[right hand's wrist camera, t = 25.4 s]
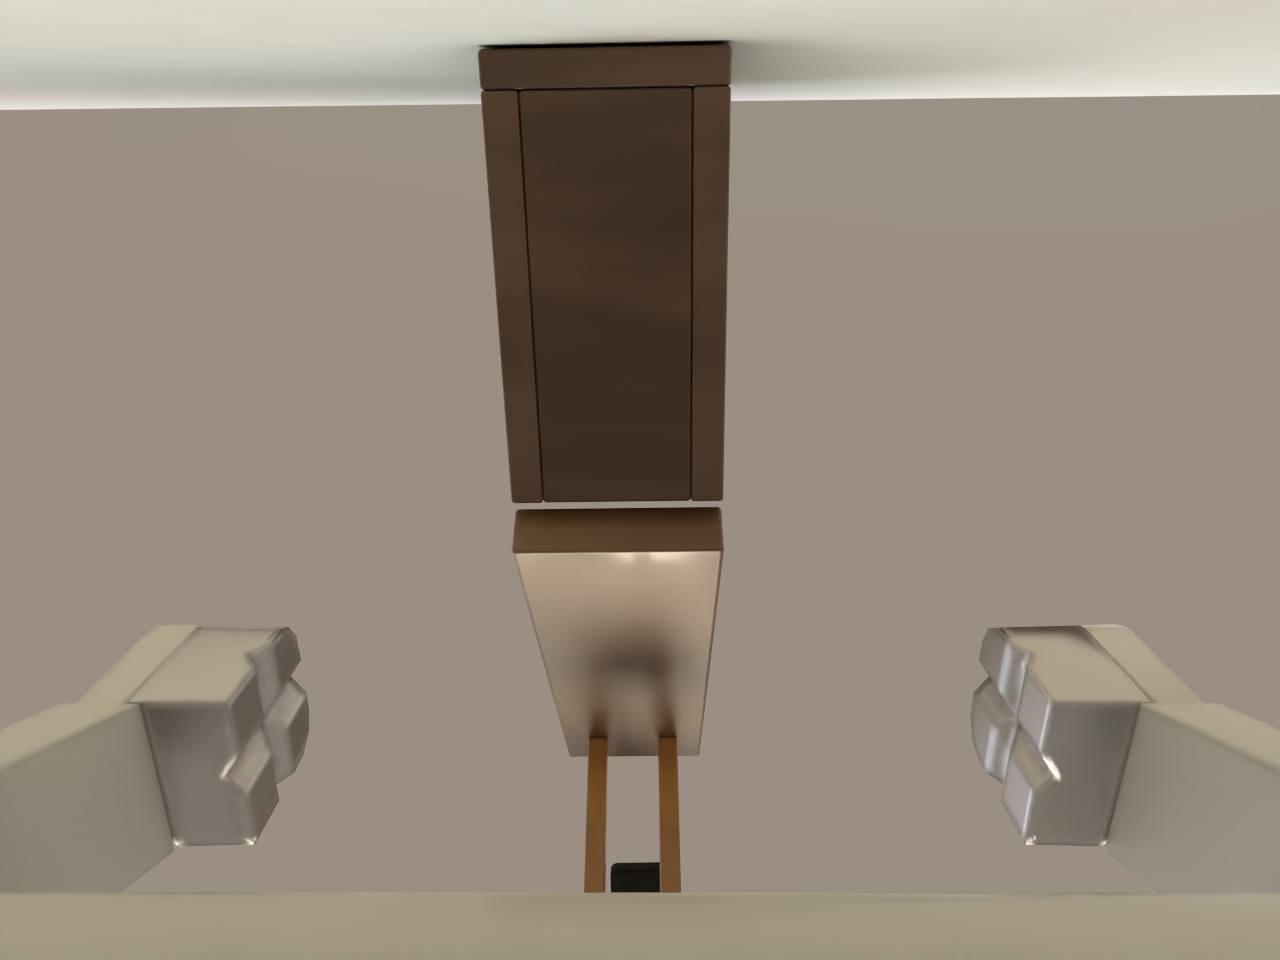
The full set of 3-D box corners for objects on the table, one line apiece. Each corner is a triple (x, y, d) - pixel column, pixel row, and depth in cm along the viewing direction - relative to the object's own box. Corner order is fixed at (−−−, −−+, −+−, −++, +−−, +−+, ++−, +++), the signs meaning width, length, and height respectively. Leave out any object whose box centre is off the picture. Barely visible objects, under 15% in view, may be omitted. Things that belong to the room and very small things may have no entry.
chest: (693, 87, 32) (692, 352, 36) (555, 90, 33) (567, 354, 36) (731, 43, 18) (723, 501, 21) (476, 48, 18) (511, 504, 21)
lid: (697, 724, 35) (707, 973, 30) (570, 725, 36) (560, 974, 31) (721, 505, 22) (745, 890, 17) (515, 508, 22) (479, 891, 17)
